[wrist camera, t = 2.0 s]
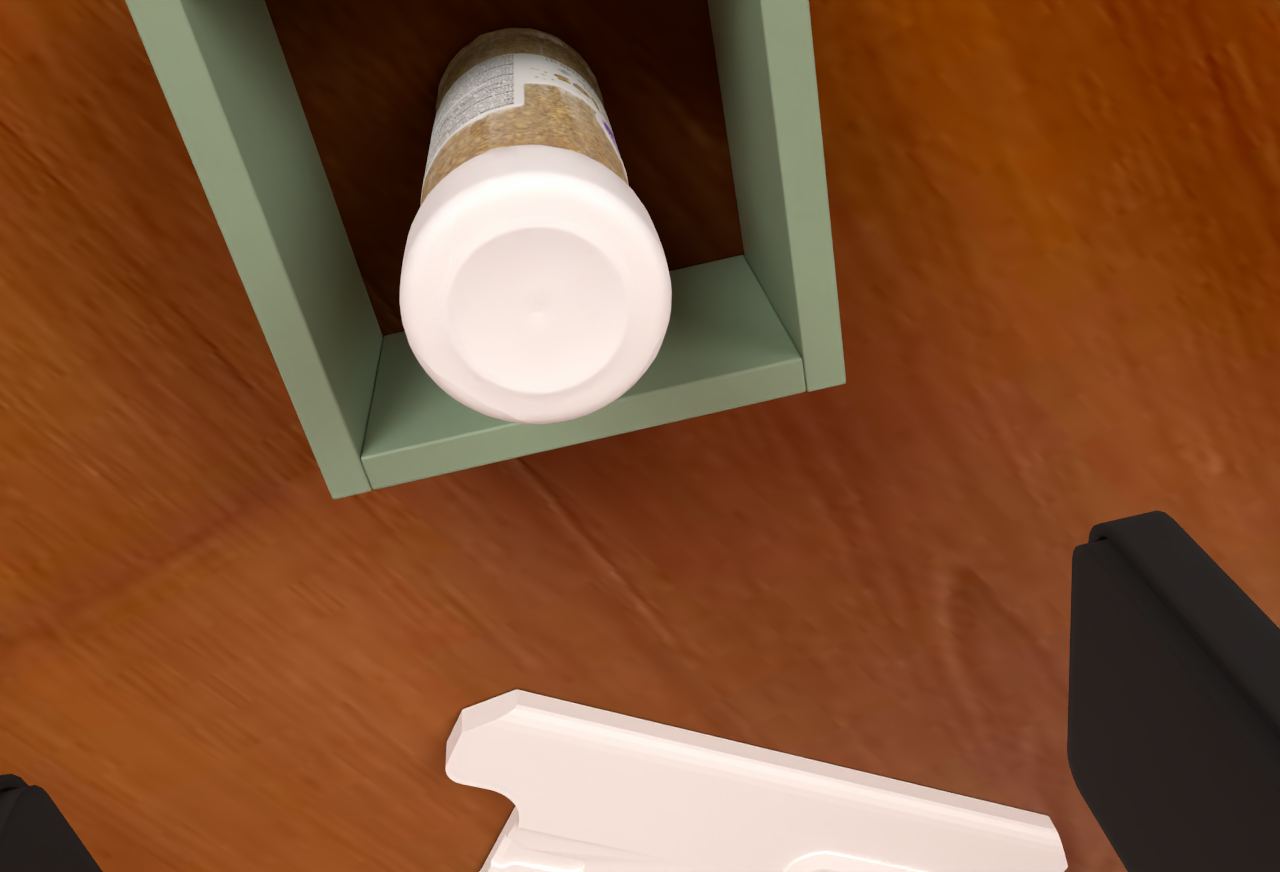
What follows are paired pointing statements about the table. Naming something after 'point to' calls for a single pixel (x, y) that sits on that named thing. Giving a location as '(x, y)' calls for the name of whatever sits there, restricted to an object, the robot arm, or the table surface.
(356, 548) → the table surface
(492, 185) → the sprinkles bottle
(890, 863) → the tray
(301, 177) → the crate
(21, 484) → the table surface
